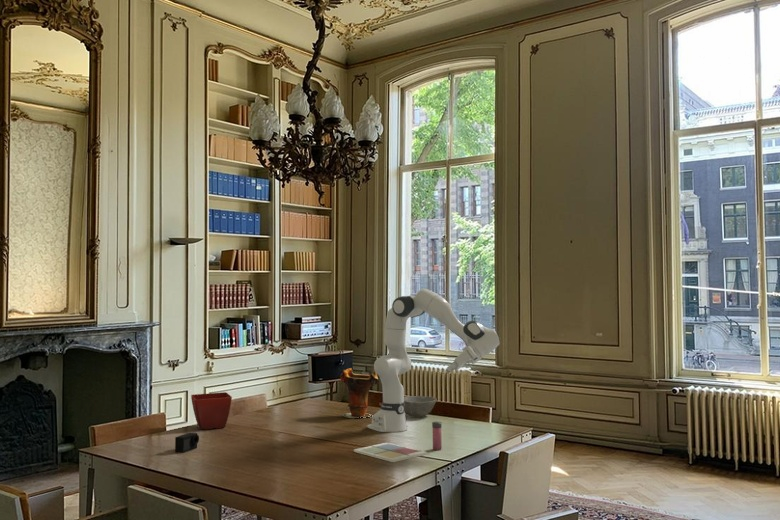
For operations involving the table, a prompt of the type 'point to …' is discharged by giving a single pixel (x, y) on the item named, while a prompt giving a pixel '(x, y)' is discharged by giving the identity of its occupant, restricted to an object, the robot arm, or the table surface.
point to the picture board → (390, 452)
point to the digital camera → (186, 442)
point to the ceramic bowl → (418, 405)
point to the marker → (437, 435)
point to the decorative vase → (358, 391)
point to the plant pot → (211, 409)
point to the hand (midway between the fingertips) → (446, 370)
